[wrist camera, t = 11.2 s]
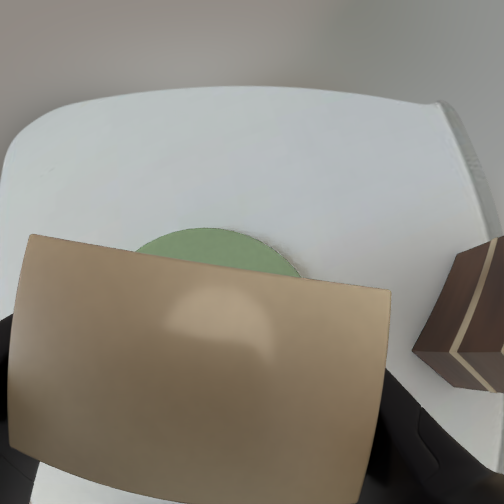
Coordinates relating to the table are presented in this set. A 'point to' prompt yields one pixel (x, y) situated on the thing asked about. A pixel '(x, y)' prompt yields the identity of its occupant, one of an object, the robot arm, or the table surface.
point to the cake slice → (194, 376)
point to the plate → (220, 250)
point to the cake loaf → (469, 322)
